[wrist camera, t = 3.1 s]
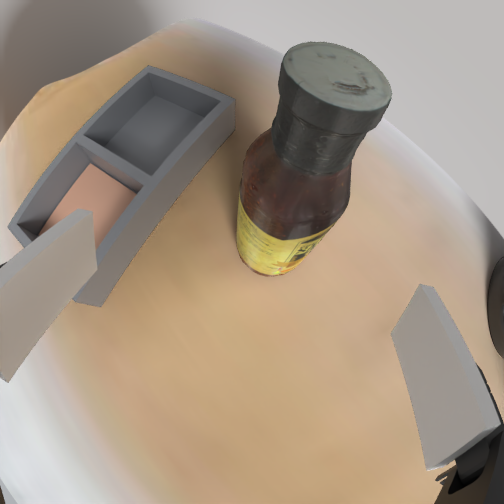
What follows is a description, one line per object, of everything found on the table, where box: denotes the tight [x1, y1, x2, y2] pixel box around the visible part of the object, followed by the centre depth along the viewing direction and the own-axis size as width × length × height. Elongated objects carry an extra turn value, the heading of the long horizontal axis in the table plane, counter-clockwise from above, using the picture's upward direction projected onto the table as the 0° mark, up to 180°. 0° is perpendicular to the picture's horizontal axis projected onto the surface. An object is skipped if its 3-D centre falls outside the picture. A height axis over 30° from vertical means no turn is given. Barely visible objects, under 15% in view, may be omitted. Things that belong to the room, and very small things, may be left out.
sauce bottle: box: [236, 42, 392, 276], centre depth 18 cm, size 6×6×20 cm
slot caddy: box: [8, 65, 236, 307], centre depth 26 cm, size 12×23×5 cm, turn 147°
